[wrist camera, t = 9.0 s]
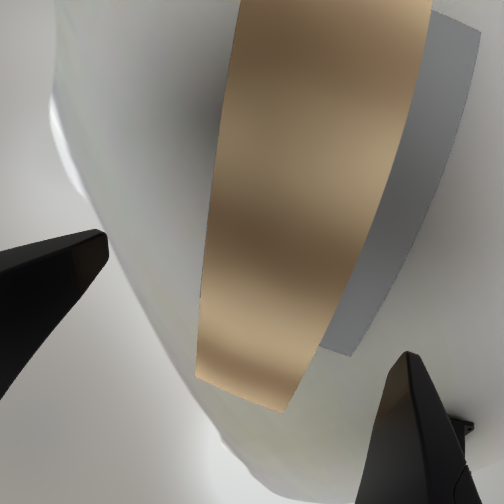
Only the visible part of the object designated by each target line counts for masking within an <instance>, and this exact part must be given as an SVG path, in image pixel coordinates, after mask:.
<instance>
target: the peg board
mask: <svg viewBox="0 0 504 504" xmlns="http://www.w3.org/2000/svg"><path fill="white" fill-rule="evenodd" d="M480 36H481V32H480V31H478V30H476V29H474V28H472V27H470V26H467V25H465V24H463V23H461V22H459V21H457V20H454V19H452V18H450V17H447V16H445V15H443V14H440V13H438V12H435V11H433V10H431V14H430V20H429V25H428V31H427V36H426V41H425V46H424V50H423V55H422V60H421V64H420V68H419V73H418V77H417V81H416V85H415V89H414V93H413V97H412V101H411V104H410V108H409V112H408V115H407V119H406V122H405V126H404V129H403V133H402V136H401V139H400V143H399V146H398V149H397V152H396V156H395V159H394V162H393V165H392V168H391V171H390V174H389V177H388V180H387V183H386V186H385V189H384V191H383V194H382V197H381V200H380V203H379V205H378V208H377V211H376V214H375V216H374V219H373V222H372V224H371V227H370V230H369V232H368V235H367V237H366V240H365V242H364V245H363V247H362V250H361V252H360V255H359V257H358V260H357V262H356V265H355V267H354V269H353V272H352V274H351V276H350V279H349V281H348V283H347V286H346V288H345V290H344V293H343V295H342V297H341V299H340V302H339V304H338V306H337V308H336V310H335V312H334V315H333V317H332V319H331V321H330V323H329V325H328V327H327V330H326V332H325V334H324V336H323V338H322V340H321V342H320V344H319V346H322V347H324V348H327V349H330V350H333V351H335V352H338V353H341V354H344V355H347V356H350V357H351V356H352V354H353V352H354V351H355V349H356V348H357V346H358V344H359V343H360V341H361V339H362V338H363V336H364V335H365V333H366V331H367V329H368V328H369V326H370V324H371V323H372V321H373V319H374V317H375V316H376V314H377V312H378V310H379V309H380V307H381V305H382V303H383V301H384V300H385V298H386V296H387V294H388V292H389V290H390V288H391V287H392V285H393V283H394V281H395V279H396V277H397V275H398V273H399V271H400V269H401V267H402V265H403V263H404V261H405V259H406V257H407V255H408V253H409V251H410V249H411V247H412V244H413V242H414V240H415V238H416V236H417V234H418V231H419V229H420V227H421V225H422V222H423V220H424V218H425V216H426V213H427V211H428V208H429V206H430V204H431V201H432V199H433V196H434V194H435V191H436V189H437V186H438V184H439V181H440V179H441V176H442V173H443V171H444V168H445V165H446V162H447V160H448V157H449V154H450V151H451V148H452V145H453V142H454V139H455V136H456V133H457V130H458V126H459V123H460V120H461V117H462V113H463V110H464V106H465V103H466V99H467V95H468V91H469V87H470V84H471V79H472V75H473V71H474V67H475V62H476V57H477V52H478V47H479V42H480ZM213 173H214V172H213ZM212 181H213V180H212ZM211 189H212V188H211ZM210 198H211V196H210ZM209 207H210V204H209ZM208 216H209V212H208ZM207 225H208V221H207ZM206 234H207V230H206ZM205 244H206V239H205ZM204 255H205V248H204ZM203 265H204V257H203ZM202 276H203V267H202ZM201 288H202V278H201ZM201 288H200V298H201Z"/></svg>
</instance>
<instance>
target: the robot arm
mask: <svg viewBox="0 0 504 504" xmlns="http://www.w3.org/2000/svg"><path fill="white" fill-rule="evenodd" d="M108 259H109V248H108V238H107V235H106V233H104V232H102V231H100V230H98V229H92V230H87V231H83V232H79V233H74V234H70V235H65V236H61V237H56V238H53V239H48V240H44V241H40V242H36V243H31V244H28V245H23V246H19V247H15V248H12V249H8V250H4V251H0V400H1V398H2V397H3V396H4V394H5V392H6V391H7V390H8V389H9V387H10V385H11V384H12V383H13V381H14V380H15V379H16V377H17V376H18V374H19V373H20V372H21V371H22V369H23V368H24V367H25V365H26V364H27V363H28V361H29V360H30V359H31V357H32V356H33V355H34V354H35V352H36V351H37V350H38V348H39V347H40V346H41V345H42V343H43V342H44V341H45V340H46V338H47V337H48V336H49V335H50V334H51V332H52V331H53V330H54V329H55V327H56V326H57V325H58V324H59V323H60V321H61V320H62V319H63V318H64V317H65V315H66V314H67V313H68V312H69V311H70V309H71V308H72V307H73V306H74V305H75V304H76V303H77V301H78V300H79V299H80V298H81V297H82V295H83V294H84V293H85V291H86V290H87V289H88V287H89V286H90V284H91V283H92V282H93V280H94V279H95V278H96V276H97V275H98V274H99V272H100V271H101V270H102V268H103V267H104V266H105V264H106V262H107V261H108ZM473 429H474V424H473V423H468V422H463V421H459V420H454V419H450V418H448V415H447V413H446V411H445V408H444V406H443V404H442V402H441V400H440V397H439V395H438V393H437V391H436V389H435V386H434V384H433V382H432V380H431V378H430V376H429V374H428V372H427V370H426V368H425V366H424V363H423V361H422V359H421V357H420V356H419V355H418V354H415V353H412V352H409V351H405V352H404V353H403V354H402V355H401V356H400V357H399V359H398V360H397V361H396V363H395V364H394V365H393V367H392V368H391V369H390V371H389V373H388V376H387V379H386V383H385V387H384V390H383V394H382V398H381V401H380V405H379V408H378V412H377V415H376V418H375V422H374V426H373V430H372V435H371V440H370V444H369V449H368V454H367V458H366V462H365V467H364V471H363V475H362V479H361V483H360V487H359V490H358V494H357V498H356V501H355V504H482V502H481V499H480V497H479V495H478V492H477V489H476V487H475V484H474V481H473V479H472V476H471V471H470V470H469V468H468V465H466V460H465V436H466V435H467V434H468V433H470V432H471V431H472V430H473Z"/></svg>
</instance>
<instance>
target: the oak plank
mask: <svg viewBox="0 0 504 504" xmlns="http://www.w3.org/2000/svg"><path fill="white" fill-rule="evenodd" d="M432 2H433V0H241V3H240V8H239V13H238V18H237V24H236V29H235V34H234V40H233V46H232V51H231V57H230V63H229V69H228V75H227V81H226V88H225V94H224V101H223V107H222V114H221V121H220V128H219V135H218V142H217V150H216V157H215V165H214V173H213V181H212V189H211V198H210V207H209V216H208V225H207V234H206V244H205V255H204V265H203V276H202V288H201V300H200V312H199V326H198V340H197V356H196V373H195V377H197V378H199V379H201V380H203V381H205V382H207V383H209V384H211V385H214V386H216V387H218V388H220V389H223V390H225V391H227V392H229V393H232V394H234V395H236V396H239V397H241V398H243V399H246V400H248V401H251V402H253V403H256V404H258V405H261V406H263V407H266V408H268V409H271V410H274V411H276V412H279V413H282V414H283V412H284V411H285V409H286V407H287V405H288V403H289V402H290V400H291V398H292V396H293V394H294V392H295V391H296V389H297V387H298V385H299V383H300V381H301V379H302V377H303V376H304V374H305V372H306V370H307V368H308V366H309V364H310V362H311V360H312V358H313V356H314V354H315V352H316V350H317V348H318V346H319V344H320V342H321V340H322V338H323V336H324V334H325V332H326V330H327V327H328V325H329V323H330V321H331V319H332V317H333V315H334V312H335V310H336V308H337V306H338V304H339V302H340V299H341V297H342V295H343V293H344V290H345V288H346V286H347V283H348V281H349V279H350V276H351V274H352V272H353V269H354V267H355V265H356V262H357V260H358V257H359V255H360V252H361V250H362V247H363V245H364V242H365V240H366V237H367V235H368V232H369V230H370V227H371V224H372V222H373V219H374V216H375V214H376V211H377V208H378V205H379V203H380V200H381V197H382V194H383V191H384V189H385V186H386V183H387V180H388V177H389V174H390V171H391V168H392V165H393V162H394V159H395V156H396V152H397V149H398V146H399V143H400V139H401V136H402V133H403V129H404V126H405V122H406V119H407V115H408V112H409V108H410V104H411V101H412V97H413V93H414V89H415V85H416V81H417V77H418V73H419V68H420V64H421V60H422V55H423V50H424V46H425V41H426V36H427V31H428V25H429V20H430V14H431V8H432Z"/></svg>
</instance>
